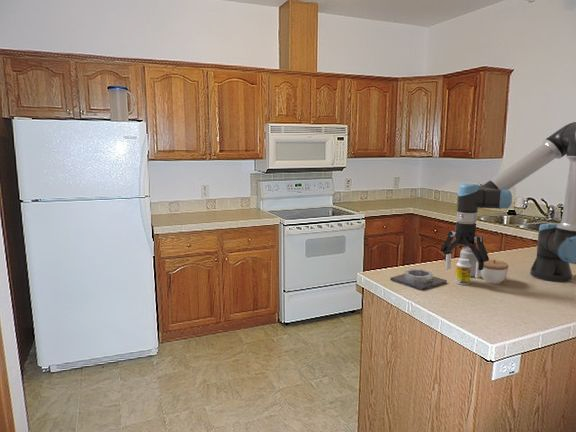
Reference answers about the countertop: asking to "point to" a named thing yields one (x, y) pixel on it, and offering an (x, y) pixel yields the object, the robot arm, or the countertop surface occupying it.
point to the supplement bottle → (463, 272)
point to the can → (472, 258)
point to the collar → (418, 279)
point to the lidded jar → (494, 271)
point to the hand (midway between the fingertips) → (462, 273)
